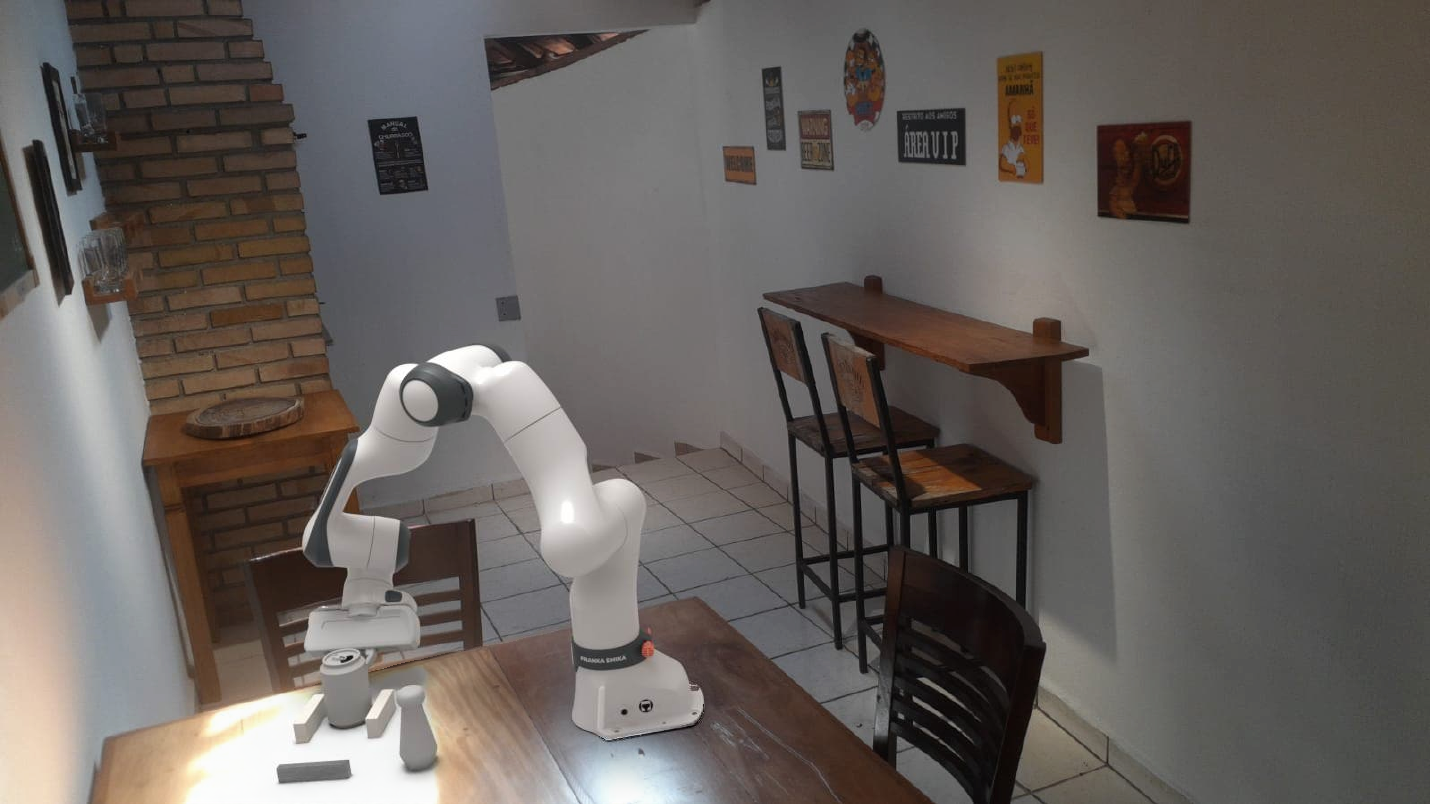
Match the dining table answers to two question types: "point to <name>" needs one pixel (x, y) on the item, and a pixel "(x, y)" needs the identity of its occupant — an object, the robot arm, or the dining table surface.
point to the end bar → (313, 771)
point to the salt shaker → (415, 729)
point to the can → (345, 687)
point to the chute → (317, 712)
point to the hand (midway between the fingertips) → (358, 676)
